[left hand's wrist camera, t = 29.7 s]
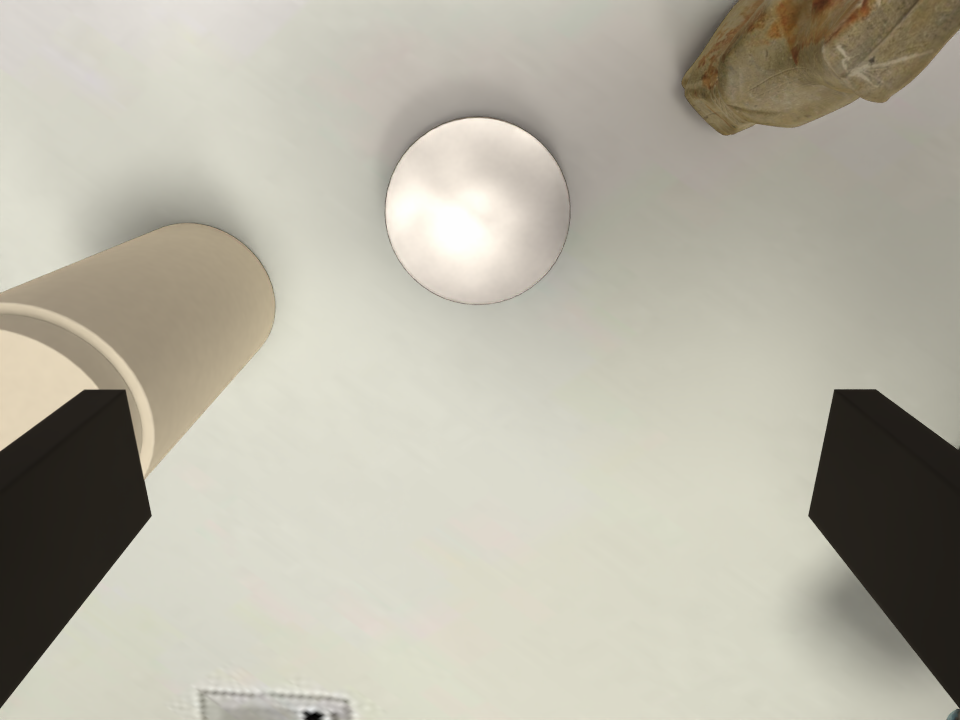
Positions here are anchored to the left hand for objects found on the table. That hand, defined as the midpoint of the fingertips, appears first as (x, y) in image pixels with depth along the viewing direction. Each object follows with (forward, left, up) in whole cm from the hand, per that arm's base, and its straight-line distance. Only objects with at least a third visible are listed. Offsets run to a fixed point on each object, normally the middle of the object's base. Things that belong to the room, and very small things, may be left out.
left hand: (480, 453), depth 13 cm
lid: (0, 0, -28) cm, 28 cm away
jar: (+17, +6, -29) cm, 34 cm away
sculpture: (-13, -9, -29) cm, 33 cm away
